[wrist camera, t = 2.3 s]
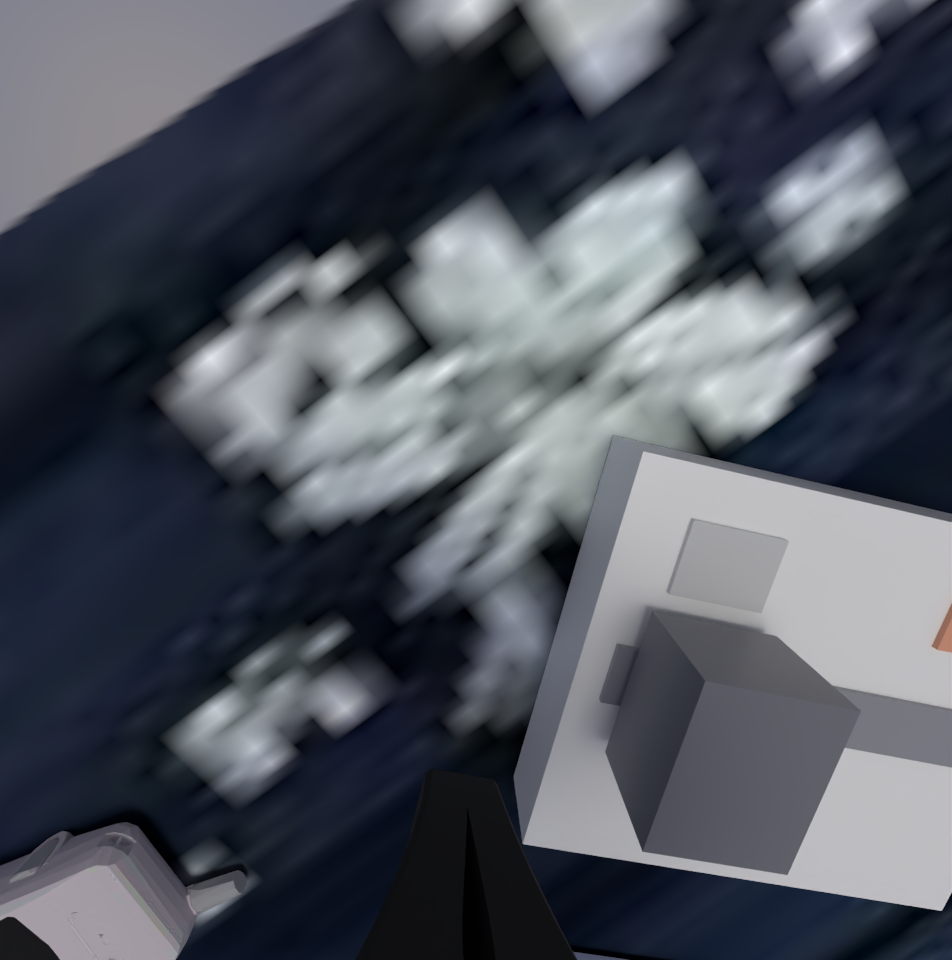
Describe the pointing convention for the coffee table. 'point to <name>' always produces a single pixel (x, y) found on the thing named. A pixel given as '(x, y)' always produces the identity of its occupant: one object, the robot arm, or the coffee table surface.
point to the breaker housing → (770, 610)
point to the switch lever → (725, 744)
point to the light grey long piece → (101, 899)
